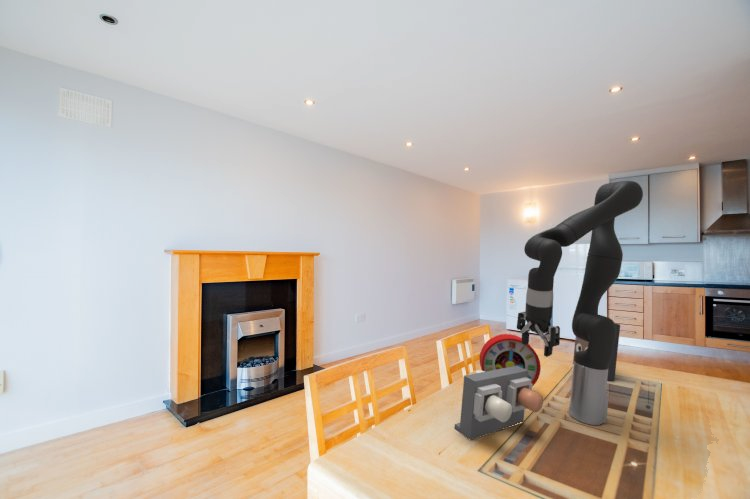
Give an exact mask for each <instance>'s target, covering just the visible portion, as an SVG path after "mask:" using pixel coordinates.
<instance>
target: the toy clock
mask: <svg viewBox="0 0 750 499" xmlns="http://www.w3.org/2000/svg"><path fill="white" fill-rule="evenodd" d="M479 365H480V369H481V371H485V372H486V371H491V370H497V369H502V368H507V367H513V366H519V367H521V368H523V369H526V370H528V378H529V379H531V384H533V385H532V387H533V386H535V384H536V383H537V382H538V380H539V378H540V375H541V367H542V366H541V365H542V364H541V361H540V358H539V355H538V354H537V352H536V351H535V350H534V348H533V347H532V346H531V344H529V343H528V344H526V345H524V344H522V337H520V336H518V335H515V334H511V333H502V334H498V335H495V336H493V337H491V338H490V339H488V340H487V341H486V342H485V343H484V344H483V345H482V347H481V351H480V352H479Z"/></svg>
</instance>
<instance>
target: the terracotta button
mask: <svg viewBox="0 0 750 499" xmlns="http://www.w3.org/2000/svg"><path fill="white" fill-rule="evenodd" d="M517 399H518V403H519V404H520V405H522V406H524V407H525V408H527V410H529V411H531V412H533V413H535V414H536V413H539V412H540V410H541V409H542V408H543V405H544V397H543V396H542V395H541V394H540V393H537V392H536V391H534V390H533V389H532V390H530V389H528V388H522V389H521V390H520V392H519V394H518V398H517Z"/></svg>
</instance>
